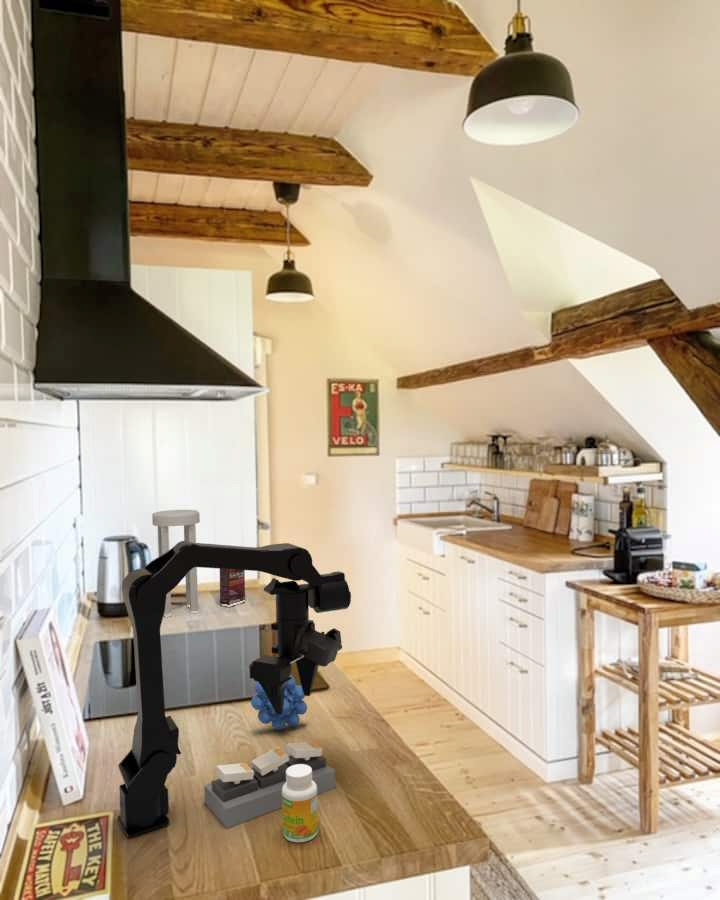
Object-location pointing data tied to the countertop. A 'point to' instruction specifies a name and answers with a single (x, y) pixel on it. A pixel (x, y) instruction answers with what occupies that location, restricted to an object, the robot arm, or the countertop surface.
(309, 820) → the supplement bottle
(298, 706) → the grapes
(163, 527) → the stool
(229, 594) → the supplement box
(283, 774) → the rocker switch strip
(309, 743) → the far rocker
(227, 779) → the block
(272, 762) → the middle rocker
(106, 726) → the countertop surface
